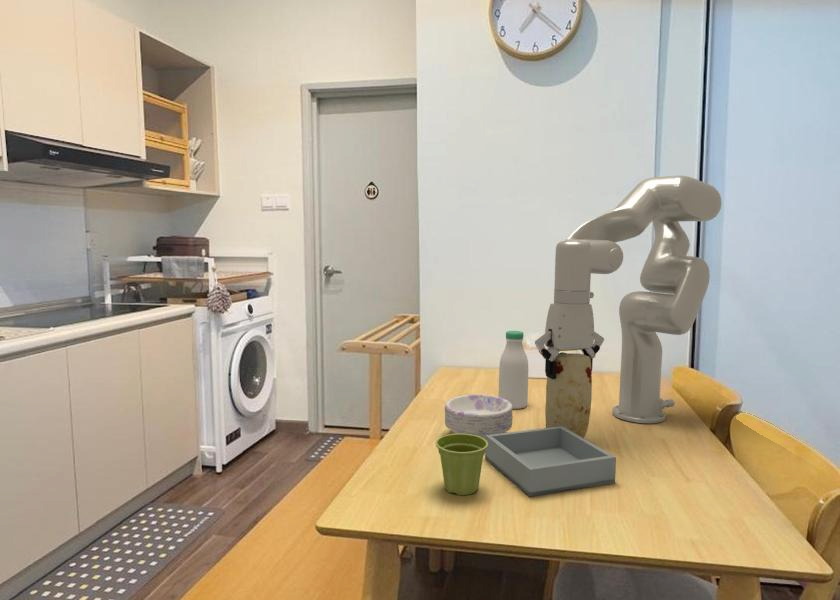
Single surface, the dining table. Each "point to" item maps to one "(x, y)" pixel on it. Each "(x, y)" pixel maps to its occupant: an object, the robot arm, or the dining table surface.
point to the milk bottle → (514, 371)
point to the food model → (570, 394)
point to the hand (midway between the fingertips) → (568, 376)
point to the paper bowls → (478, 415)
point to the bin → (549, 460)
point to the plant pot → (461, 461)
